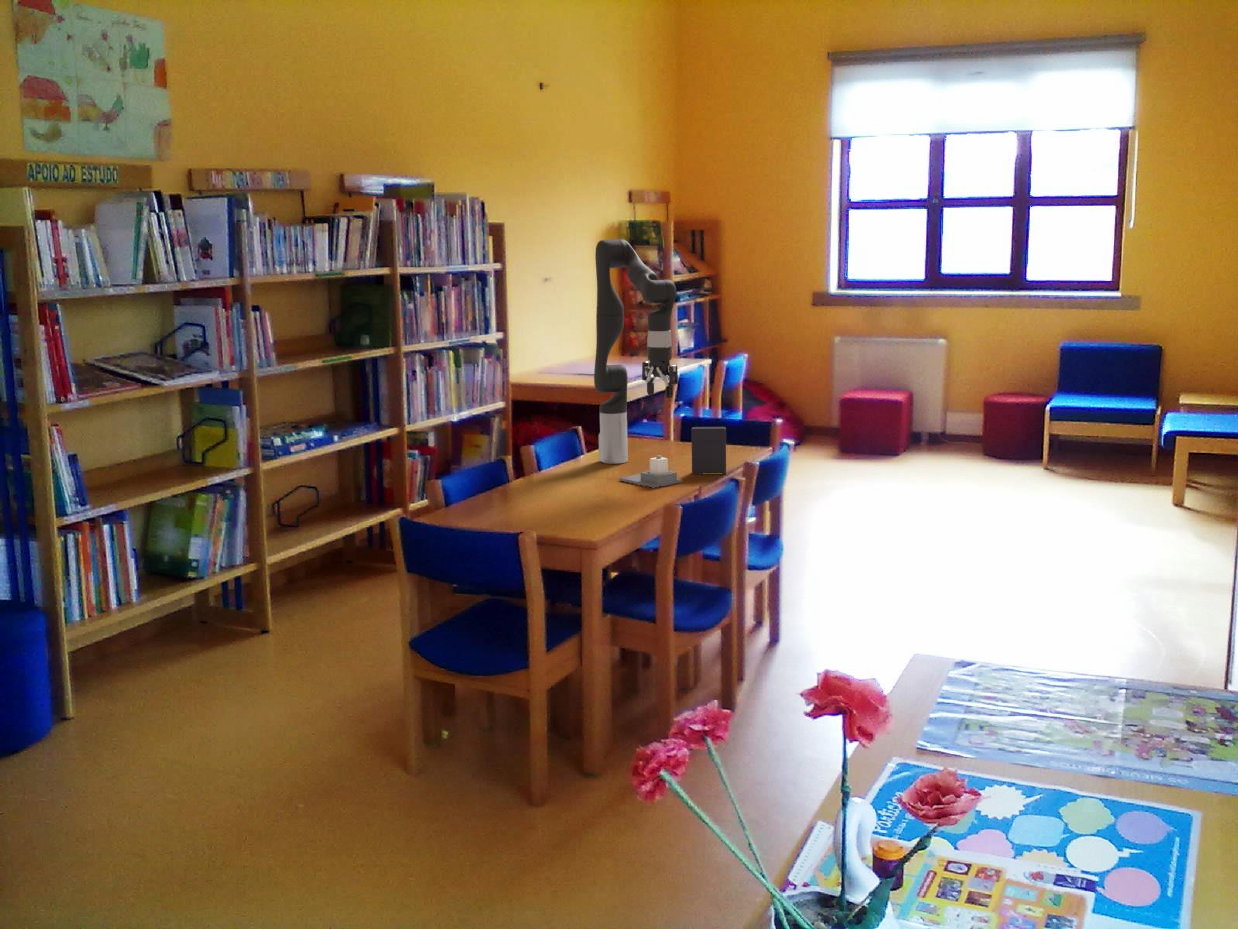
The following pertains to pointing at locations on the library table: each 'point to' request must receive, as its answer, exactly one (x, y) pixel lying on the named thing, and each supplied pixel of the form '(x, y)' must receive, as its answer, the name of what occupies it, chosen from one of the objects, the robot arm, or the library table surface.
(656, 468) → the charger
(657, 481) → the grey base with socket
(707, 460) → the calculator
